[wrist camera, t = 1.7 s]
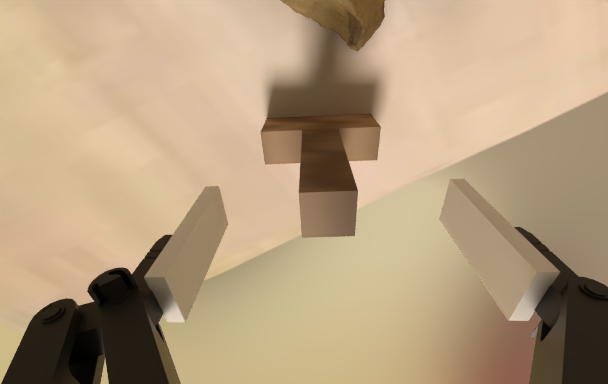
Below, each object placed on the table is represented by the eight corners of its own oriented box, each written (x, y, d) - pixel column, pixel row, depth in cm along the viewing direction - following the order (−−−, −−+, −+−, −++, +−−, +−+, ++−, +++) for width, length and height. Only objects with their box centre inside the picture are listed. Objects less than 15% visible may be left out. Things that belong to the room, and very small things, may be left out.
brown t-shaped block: (270, 147, 27) (241, 239, 15) (266, 118, 26) (231, 195, 14) (368, 143, 27) (417, 234, 15) (370, 113, 25) (427, 188, 13)
